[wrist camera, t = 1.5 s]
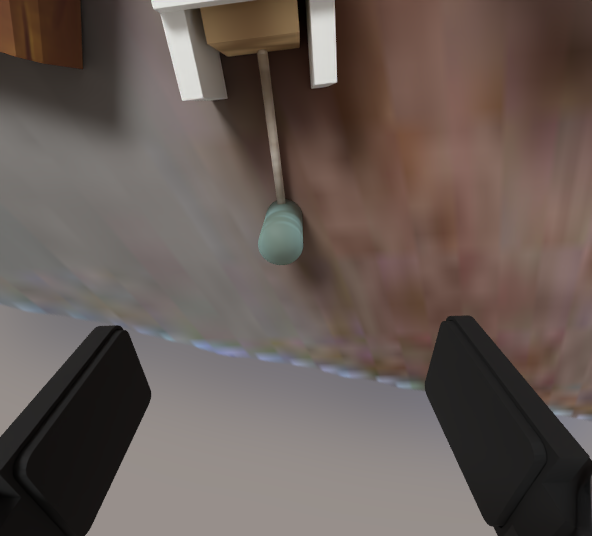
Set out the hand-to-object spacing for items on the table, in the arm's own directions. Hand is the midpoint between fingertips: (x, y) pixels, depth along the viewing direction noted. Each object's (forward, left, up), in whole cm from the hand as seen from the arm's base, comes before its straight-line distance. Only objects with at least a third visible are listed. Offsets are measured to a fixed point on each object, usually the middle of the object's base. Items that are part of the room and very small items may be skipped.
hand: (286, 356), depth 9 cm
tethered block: (+1, -6, -19) cm, 20 cm away
